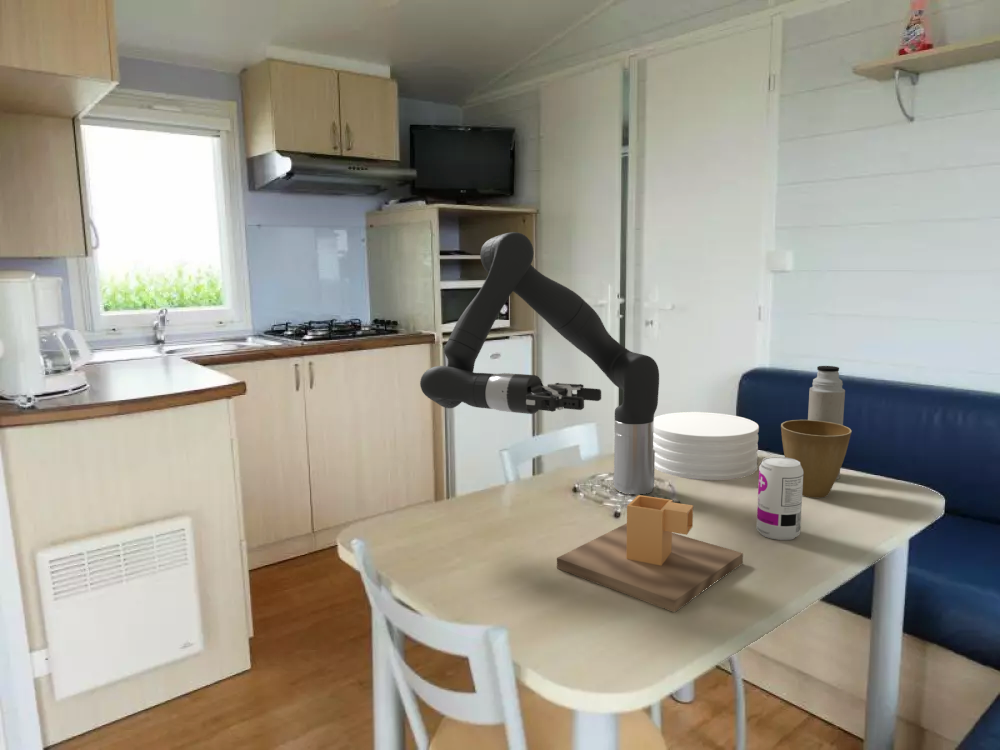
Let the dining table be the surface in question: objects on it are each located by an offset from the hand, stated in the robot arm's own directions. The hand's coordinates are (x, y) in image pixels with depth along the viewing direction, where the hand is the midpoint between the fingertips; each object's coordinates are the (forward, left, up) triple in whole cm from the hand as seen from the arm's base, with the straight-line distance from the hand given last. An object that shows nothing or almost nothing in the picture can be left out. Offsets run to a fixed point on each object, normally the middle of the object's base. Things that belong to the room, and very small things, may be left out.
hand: (592, 399), depth 128 cm
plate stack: (-67, -13, -30) cm, 74 cm away
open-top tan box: (-3, +13, -28) cm, 31 cm away
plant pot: (-62, +18, -30) cm, 71 cm away
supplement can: (-33, +22, -30) cm, 50 cm away
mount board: (-3, +11, -30) cm, 32 cm away
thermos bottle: (-77, +15, -30) cm, 84 cm away
